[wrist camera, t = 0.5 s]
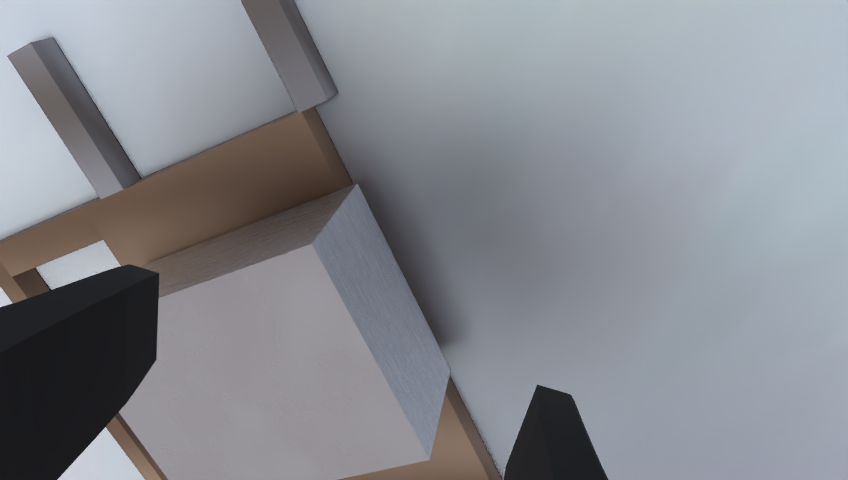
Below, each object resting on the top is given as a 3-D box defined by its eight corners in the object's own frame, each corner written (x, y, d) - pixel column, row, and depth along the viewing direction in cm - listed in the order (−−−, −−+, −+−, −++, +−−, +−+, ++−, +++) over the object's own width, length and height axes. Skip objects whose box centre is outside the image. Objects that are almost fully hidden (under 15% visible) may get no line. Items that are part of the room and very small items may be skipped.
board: (545, 519, 26) (544, 588, 23) (238, 571, 30) (208, 633, 28) (255, -77, 18) (203, -77, 15) (-93, 119, 23) (-179, 145, 20)
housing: (450, 369, 22) (429, 459, 18) (245, 423, 24) (191, 510, 21) (357, 183, 19) (311, 244, 16) (141, 265, 22) (60, 333, 18)
